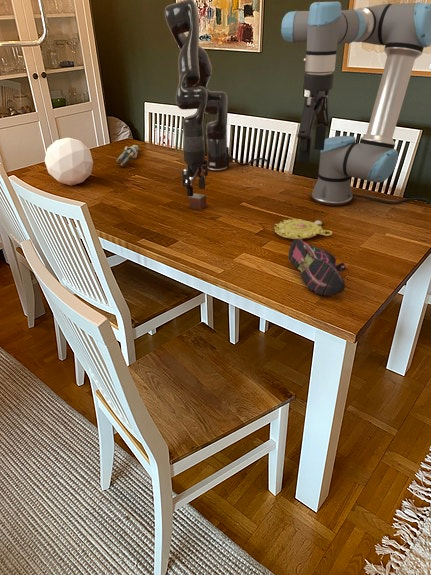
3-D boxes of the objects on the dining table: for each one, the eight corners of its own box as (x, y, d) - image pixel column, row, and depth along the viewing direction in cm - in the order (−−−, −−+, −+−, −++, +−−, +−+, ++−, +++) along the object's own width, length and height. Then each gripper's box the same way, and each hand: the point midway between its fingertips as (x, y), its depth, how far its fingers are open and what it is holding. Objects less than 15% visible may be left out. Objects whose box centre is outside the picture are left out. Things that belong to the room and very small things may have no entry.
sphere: (65, 197, 199) (41, 157, 196) (104, 175, 201) (80, 136, 198) (57, 189, 180) (29, 146, 177) (100, 165, 182) (73, 122, 180)
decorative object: (286, 211, 157) (342, 219, 147) (286, 217, 158) (341, 226, 148) (260, 233, 142) (319, 243, 133) (260, 240, 144) (319, 251, 134)
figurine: (121, 147, 205) (136, 136, 231) (111, 160, 208) (127, 147, 235) (133, 159, 207) (147, 145, 233) (123, 171, 210) (137, 157, 237)
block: (195, 204, 170) (194, 193, 167) (206, 206, 168) (205, 195, 165) (189, 208, 167) (188, 196, 164) (201, 210, 165) (200, 198, 162)
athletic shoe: (331, 285, 107) (371, 277, 111) (291, 223, 118) (328, 219, 123) (315, 312, 115) (352, 304, 120) (279, 253, 127) (314, 247, 131)
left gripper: (195, 142, 162) (197, 185, 171) (174, 152, 152) (177, 197, 160) (213, 144, 159) (214, 187, 168) (192, 154, 149) (195, 200, 157)
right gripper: (319, 66, 124) (312, 143, 136) (288, 78, 106) (283, 166, 117) (346, 67, 121) (336, 145, 133) (318, 80, 103) (310, 169, 114)
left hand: (196, 192), depth 164 cm, fingers open, 8 cm apart
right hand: (311, 155), depth 125 cm, fingers open, 13 cm apart
